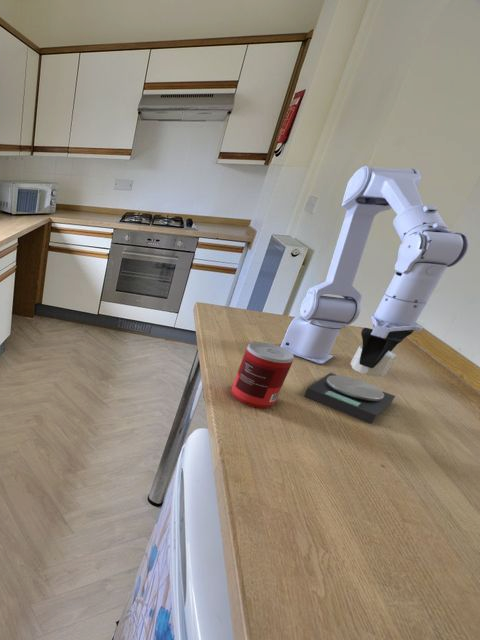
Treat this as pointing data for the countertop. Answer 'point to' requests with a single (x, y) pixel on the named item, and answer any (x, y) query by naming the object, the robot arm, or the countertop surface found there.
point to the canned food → (261, 374)
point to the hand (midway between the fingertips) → (370, 362)
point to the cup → (378, 369)
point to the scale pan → (355, 388)
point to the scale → (347, 401)
